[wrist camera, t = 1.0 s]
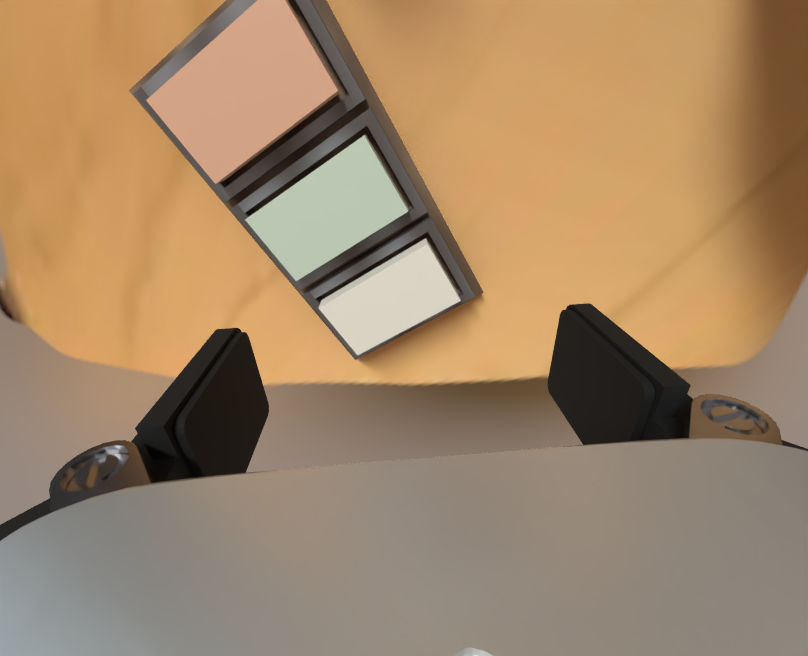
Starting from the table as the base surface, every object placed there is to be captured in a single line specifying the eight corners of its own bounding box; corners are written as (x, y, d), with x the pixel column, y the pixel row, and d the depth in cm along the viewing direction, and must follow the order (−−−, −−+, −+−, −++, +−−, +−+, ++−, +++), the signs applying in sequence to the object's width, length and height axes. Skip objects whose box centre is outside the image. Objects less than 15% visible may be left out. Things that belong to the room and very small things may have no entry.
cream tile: (425, 238, 30) (427, 244, 29) (457, 293, 33) (460, 300, 32) (321, 300, 33) (318, 308, 31) (358, 346, 36) (357, 355, 34)
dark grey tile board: (298, -52, 23) (286, -72, 21) (480, 285, 36) (486, 299, 33) (141, 91, 27) (115, 89, 24) (356, 351, 40) (353, 368, 37)
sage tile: (365, 134, 26) (364, 135, 25) (407, 206, 29) (408, 211, 27) (252, 214, 29) (244, 219, 27) (300, 274, 32) (296, 281, 30)
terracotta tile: (282, -9, 22) (275, -17, 21) (341, 91, 25) (338, 90, 23) (159, 101, 25) (145, 100, 23) (224, 180, 27) (215, 184, 26)
